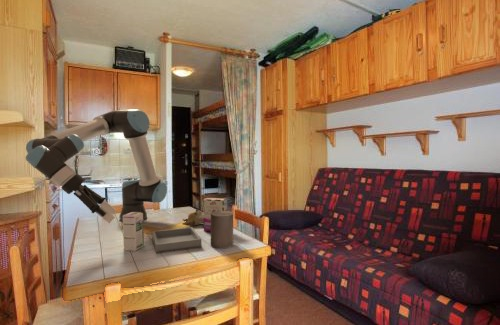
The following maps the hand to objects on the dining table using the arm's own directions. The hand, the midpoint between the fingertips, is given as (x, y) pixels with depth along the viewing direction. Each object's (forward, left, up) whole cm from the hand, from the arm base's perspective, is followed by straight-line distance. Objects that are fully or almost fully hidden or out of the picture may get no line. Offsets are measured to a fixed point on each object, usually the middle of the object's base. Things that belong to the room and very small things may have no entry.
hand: (113, 216), depth 112 cm
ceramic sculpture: (-28, +39, -14) cm, 50 cm away
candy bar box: (-12, +45, -14) cm, 49 cm away
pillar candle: (+9, +42, -14) cm, 46 cm away
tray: (-1, +24, -14) cm, 28 cm away
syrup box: (-1, +7, -14) cm, 16 cm away
